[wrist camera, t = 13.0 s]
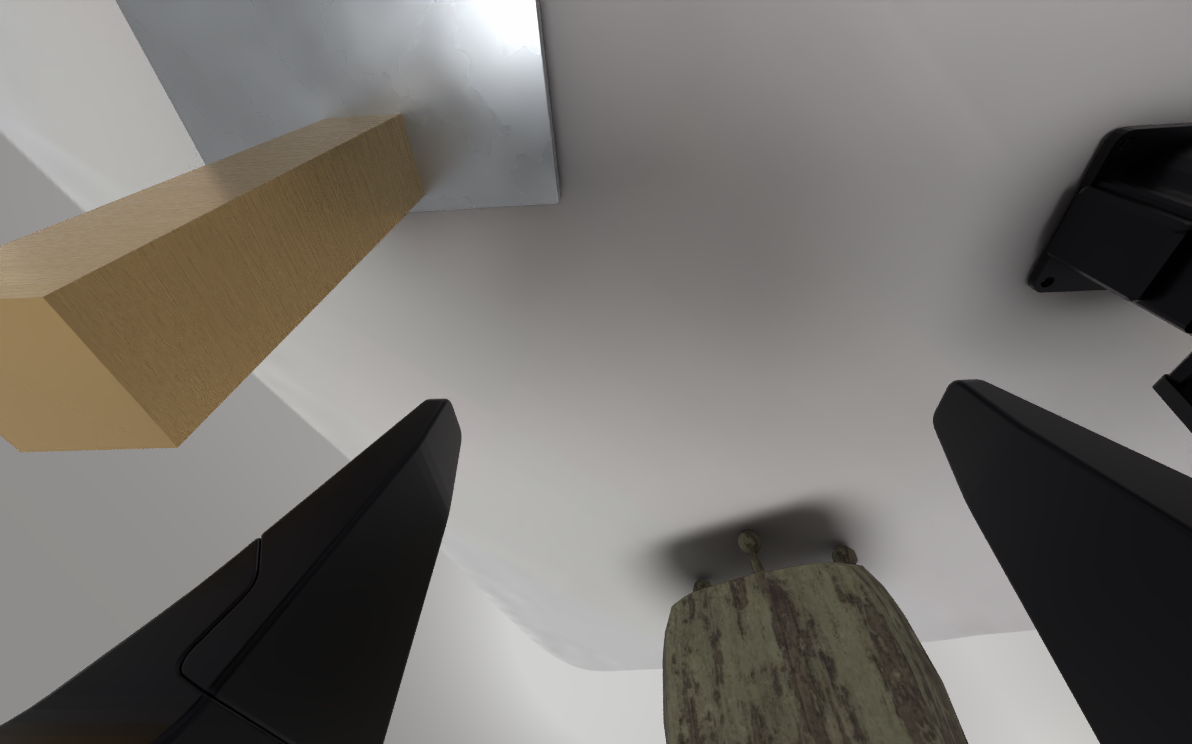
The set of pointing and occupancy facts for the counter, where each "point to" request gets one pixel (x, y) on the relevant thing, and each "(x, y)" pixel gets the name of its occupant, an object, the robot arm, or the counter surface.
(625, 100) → the counter surface
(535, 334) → the counter surface
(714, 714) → the tabletop clock
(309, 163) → the grey plate wooden post
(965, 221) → the counter surface
